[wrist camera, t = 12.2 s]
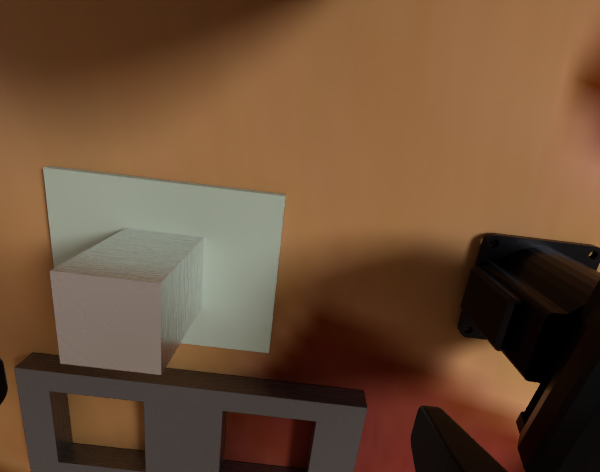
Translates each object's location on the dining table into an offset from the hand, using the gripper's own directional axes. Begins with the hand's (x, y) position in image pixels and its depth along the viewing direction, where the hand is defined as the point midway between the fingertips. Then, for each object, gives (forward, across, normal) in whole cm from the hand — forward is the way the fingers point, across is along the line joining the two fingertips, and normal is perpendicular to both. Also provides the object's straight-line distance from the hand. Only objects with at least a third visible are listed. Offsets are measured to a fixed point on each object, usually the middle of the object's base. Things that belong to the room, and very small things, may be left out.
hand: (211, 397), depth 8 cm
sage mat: (+13, +6, +3) cm, 15 cm away
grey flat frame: (+13, +4, +15) cm, 20 cm away
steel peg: (+12, +6, +3) cm, 14 cm away
